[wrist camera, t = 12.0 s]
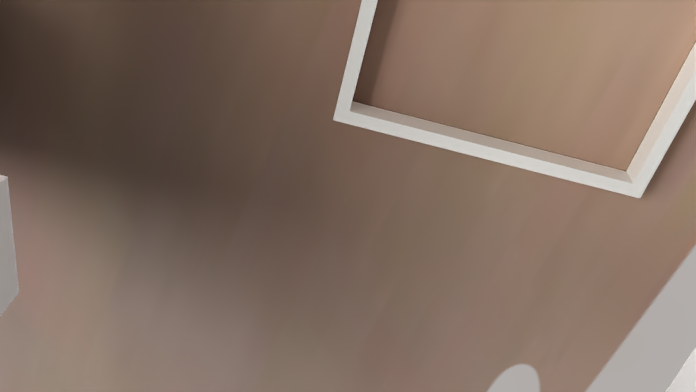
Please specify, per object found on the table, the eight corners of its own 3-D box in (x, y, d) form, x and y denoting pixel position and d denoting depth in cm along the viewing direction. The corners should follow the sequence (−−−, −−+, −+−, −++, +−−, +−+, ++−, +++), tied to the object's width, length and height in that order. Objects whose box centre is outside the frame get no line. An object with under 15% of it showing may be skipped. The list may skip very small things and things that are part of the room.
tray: (335, 109, 38) (332, 120, 37) (413, -211, 30) (413, -212, 28) (632, 185, 39) (639, 198, 38) (793, -106, 30) (809, -103, 29)
